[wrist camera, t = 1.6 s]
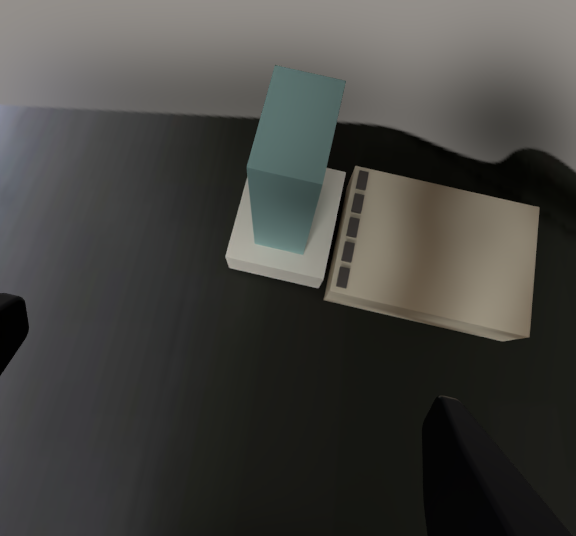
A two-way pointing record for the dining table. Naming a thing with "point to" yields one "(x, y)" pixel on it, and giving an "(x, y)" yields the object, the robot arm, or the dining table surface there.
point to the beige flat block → (435, 255)
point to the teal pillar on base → (290, 182)
